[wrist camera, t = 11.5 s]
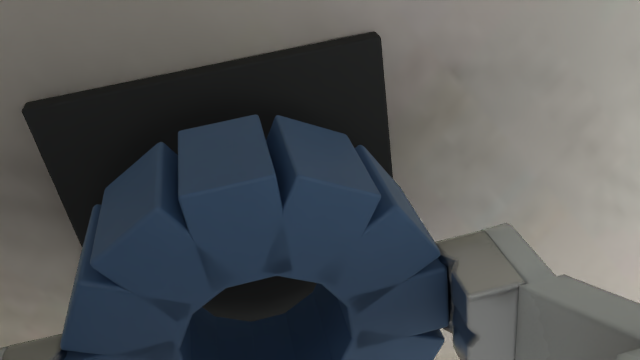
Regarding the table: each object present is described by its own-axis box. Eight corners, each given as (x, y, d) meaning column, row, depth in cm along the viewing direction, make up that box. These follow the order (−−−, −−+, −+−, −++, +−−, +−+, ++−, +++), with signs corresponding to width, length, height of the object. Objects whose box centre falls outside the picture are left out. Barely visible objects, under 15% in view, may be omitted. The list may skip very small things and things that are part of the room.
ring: (140, 410, 13) (134, 505, 11) (26, 163, 10) (-10, 240, 8) (416, 337, 14) (453, 415, 12) (397, 82, 10) (444, 136, 9)
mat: (134, 353, 15) (133, 365, 15) (25, 102, 11) (20, 110, 11) (398, 286, 16) (403, 296, 15) (375, 30, 12) (381, 36, 12)
